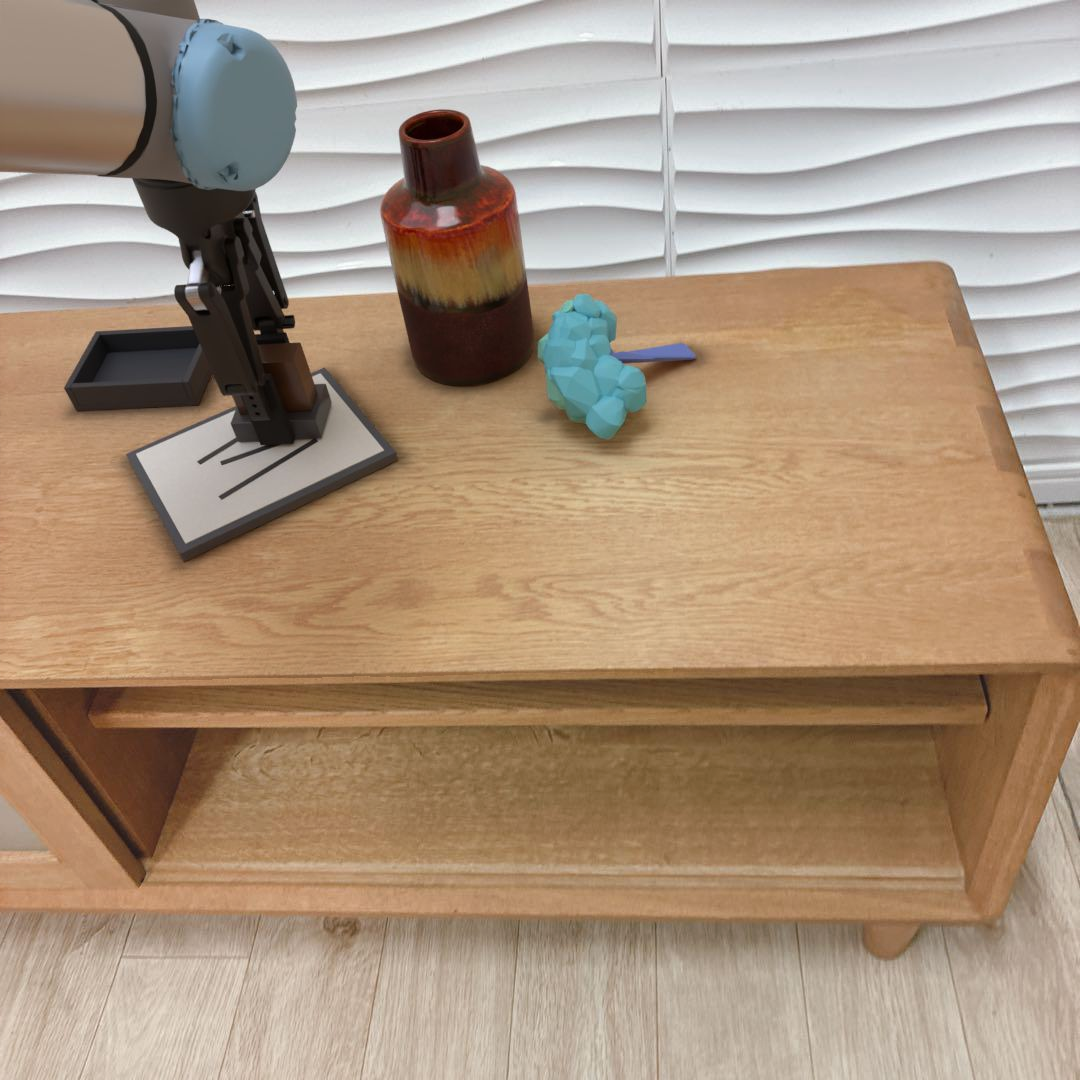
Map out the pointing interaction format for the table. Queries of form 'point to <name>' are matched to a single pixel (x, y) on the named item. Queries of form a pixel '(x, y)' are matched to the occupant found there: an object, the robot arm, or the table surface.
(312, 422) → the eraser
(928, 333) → the table surface
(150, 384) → the tray
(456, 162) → the vase
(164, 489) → the whiteboard
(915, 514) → the table surface
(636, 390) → the light blue toy tree
